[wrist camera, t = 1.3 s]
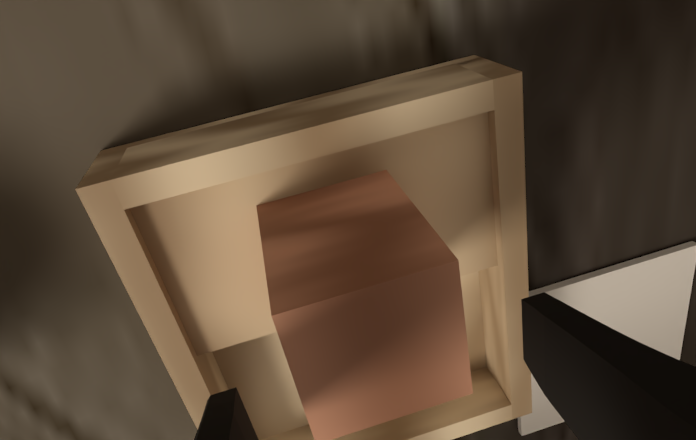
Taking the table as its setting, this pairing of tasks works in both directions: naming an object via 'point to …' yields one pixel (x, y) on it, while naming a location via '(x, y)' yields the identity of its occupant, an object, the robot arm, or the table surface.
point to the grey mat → (626, 309)
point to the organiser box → (309, 174)
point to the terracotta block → (364, 304)
